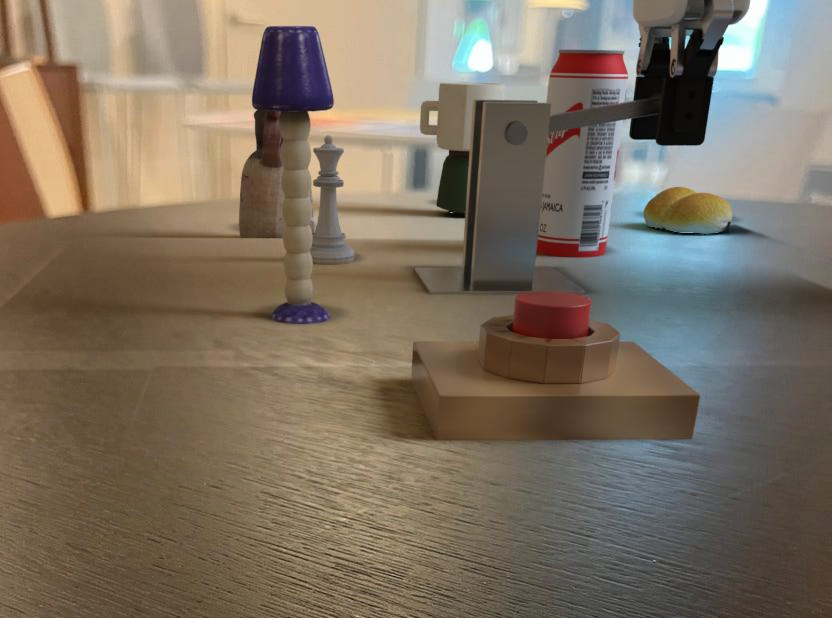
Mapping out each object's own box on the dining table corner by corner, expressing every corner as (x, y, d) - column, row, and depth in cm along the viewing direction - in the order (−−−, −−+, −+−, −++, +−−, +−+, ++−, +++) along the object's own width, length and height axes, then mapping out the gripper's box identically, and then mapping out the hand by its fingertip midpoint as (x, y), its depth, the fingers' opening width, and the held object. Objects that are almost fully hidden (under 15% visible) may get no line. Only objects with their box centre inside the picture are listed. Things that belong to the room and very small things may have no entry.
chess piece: (356, 277, 81) (359, 137, 76) (301, 277, 81) (300, 137, 76) (353, 267, 85) (355, 133, 80) (300, 267, 84) (299, 133, 79)
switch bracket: (553, 284, 80) (573, 100, 74) (583, 309, 72) (609, 105, 66) (414, 283, 79) (422, 97, 73) (429, 308, 71) (440, 102, 65)
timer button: (576, 327, 51) (580, 290, 50) (595, 344, 48) (600, 306, 47) (505, 327, 51) (508, 290, 50) (520, 344, 48) (524, 306, 47)
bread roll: (692, 238, 102) (700, 194, 100) (628, 226, 109) (634, 185, 107) (748, 232, 106) (756, 190, 104) (683, 221, 113) (689, 182, 111)
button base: (627, 381, 56) (639, 306, 54) (692, 441, 47) (708, 354, 45) (410, 382, 55) (414, 306, 53) (436, 442, 47) (441, 354, 45)
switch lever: (663, 119, 73) (663, 81, 72) (688, 123, 68) (688, 83, 67) (483, 150, 73) (480, 113, 72) (496, 156, 69) (494, 116, 67)
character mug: (515, 213, 117) (527, 84, 110) (508, 221, 111) (520, 85, 104) (421, 208, 119) (428, 81, 113) (409, 216, 113) (415, 82, 107)
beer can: (557, 271, 85) (581, 49, 77) (516, 259, 90) (536, 49, 82) (618, 267, 87) (648, 51, 79) (575, 255, 92) (600, 50, 84)
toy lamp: (324, 345, 62) (325, 24, 54) (250, 340, 63) (239, 23, 54) (339, 327, 66) (342, 27, 58) (269, 323, 67) (262, 26, 58)
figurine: (322, 237, 99) (322, 97, 93) (306, 248, 93) (305, 99, 87) (250, 234, 100) (246, 95, 94) (230, 245, 94) (224, 97, 88)
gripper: (835, -221, 55) (767, 151, 64) (717, -161, 70) (676, 134, 79) (699, -223, 55) (650, 152, 64) (609, -162, 69) (580, 135, 78)
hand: (665, 139), depth 71 cm, fingers closed on switch lever, 5 cm apart
